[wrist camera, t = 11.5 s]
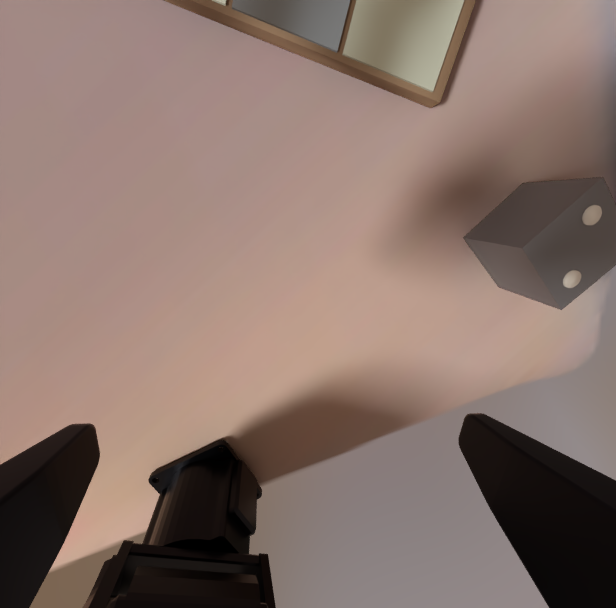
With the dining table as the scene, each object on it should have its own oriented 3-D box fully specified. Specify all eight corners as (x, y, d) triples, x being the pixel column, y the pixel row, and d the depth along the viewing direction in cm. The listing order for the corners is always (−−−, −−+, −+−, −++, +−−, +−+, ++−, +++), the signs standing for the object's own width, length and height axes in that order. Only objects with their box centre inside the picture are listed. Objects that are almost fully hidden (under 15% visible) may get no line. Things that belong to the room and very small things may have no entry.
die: (497, 286, 22) (563, 310, 17) (462, 237, 20) (523, 248, 15) (553, 238, 21) (638, 248, 16) (521, 183, 20) (605, 176, 15)
